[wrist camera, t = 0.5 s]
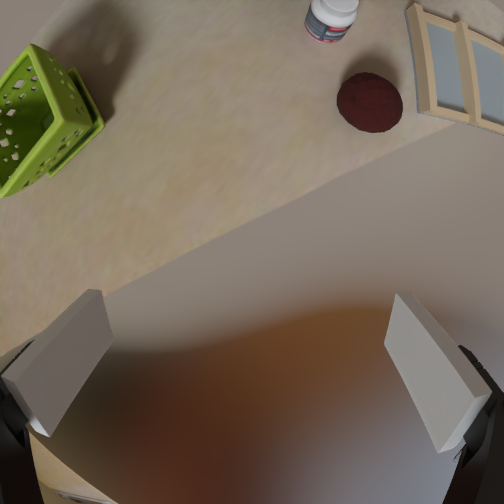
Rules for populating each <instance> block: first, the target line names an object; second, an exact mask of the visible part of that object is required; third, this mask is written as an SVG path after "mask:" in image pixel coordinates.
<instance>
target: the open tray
mask: <svg viewBox="0 0 504 504" xmlns="http://www.w3.org/2000/svg"><path fill="white" fill-rule="evenodd" d="M405 16H406V21H407V26H408V32H409V38H410V44H411V50H412V58H413V66H414V75H415V85H416V97H417V113H420V114H425V115H430V116H435V117H439V118H443V119H448V120H452V121H456V122H460V123H463V124H467V125H471V126H474V127H478V128H481V129H484V130H487V131H491V132H494V133H497V134H500V135H503V136H504V47H503V46H502V45H500V44H498V43H496V42H494V41H492V40H490V39H488V38H486V37H484V36H482V35H480V34H478V33H476V32H474V31H472V30H470V29H468V26H467V22H464V21H462V20H460V21H458V22H456V23H453V22H451V21H448V20H446V19H443V18H441V17H438V16H435V15H432V14H430V13H427V12H424V11H423V7H422V5H420V4H417V3H414V4H412V5H411V6H410V7H409V8H408V9H407V10H406V11H405Z"/></svg>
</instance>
